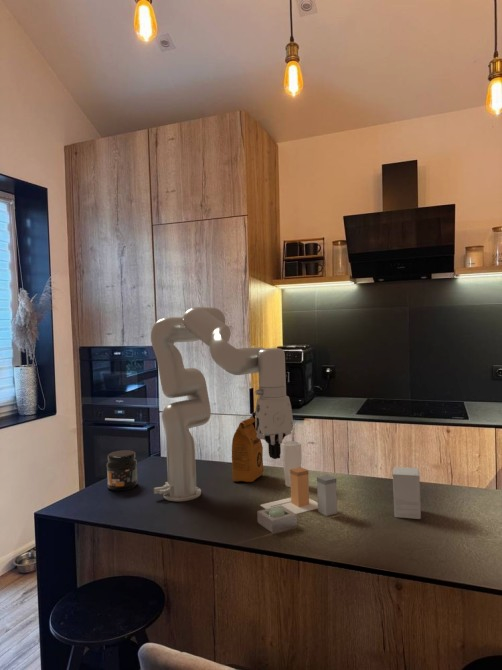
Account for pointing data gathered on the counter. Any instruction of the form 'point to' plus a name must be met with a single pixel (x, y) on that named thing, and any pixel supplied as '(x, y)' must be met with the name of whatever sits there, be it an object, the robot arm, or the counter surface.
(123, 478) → the supplement container
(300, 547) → the counter surface
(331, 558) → the counter surface
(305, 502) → the brown box
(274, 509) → the button
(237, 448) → the coffee package
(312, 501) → the sketch pad
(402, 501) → the supplement box
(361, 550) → the counter surface
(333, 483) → the grey rectangular prism
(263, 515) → the button collar
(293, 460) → the drinking glass
